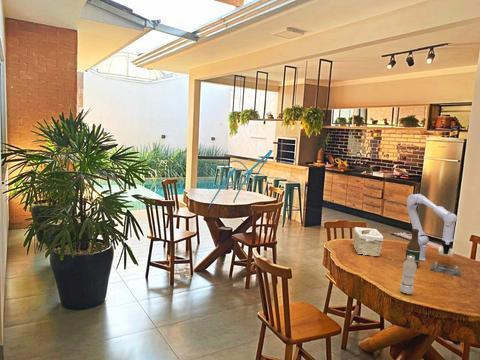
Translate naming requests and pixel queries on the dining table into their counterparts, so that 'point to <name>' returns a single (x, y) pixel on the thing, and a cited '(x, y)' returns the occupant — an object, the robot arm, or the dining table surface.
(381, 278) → the dining table surface
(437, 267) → the roll cradle
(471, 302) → the dining table surface
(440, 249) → the paper roll
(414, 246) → the beer bottle
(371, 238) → the storage basket
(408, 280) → the plastic bottle
